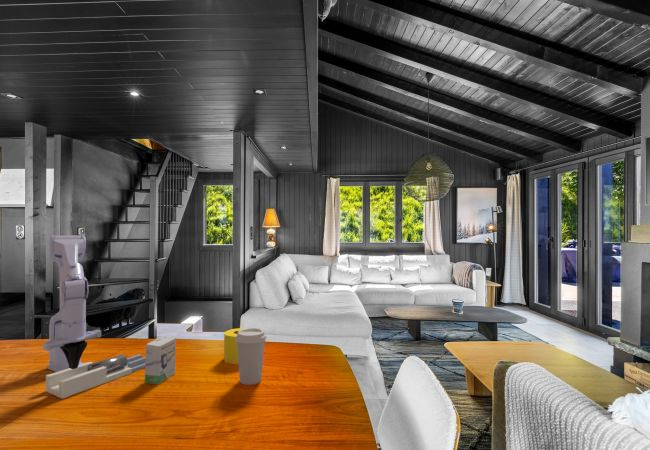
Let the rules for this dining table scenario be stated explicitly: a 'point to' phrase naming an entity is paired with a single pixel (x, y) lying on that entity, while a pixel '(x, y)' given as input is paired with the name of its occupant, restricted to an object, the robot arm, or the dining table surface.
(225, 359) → the yellow cylinder
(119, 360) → the axle
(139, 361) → the cradle
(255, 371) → the coffee cup
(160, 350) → the ink box
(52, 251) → the robot arm
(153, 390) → the dining table surface
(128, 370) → the white channel tray
